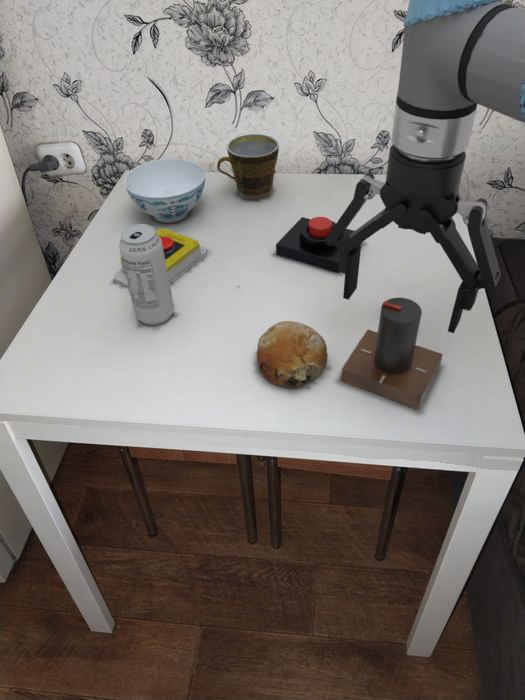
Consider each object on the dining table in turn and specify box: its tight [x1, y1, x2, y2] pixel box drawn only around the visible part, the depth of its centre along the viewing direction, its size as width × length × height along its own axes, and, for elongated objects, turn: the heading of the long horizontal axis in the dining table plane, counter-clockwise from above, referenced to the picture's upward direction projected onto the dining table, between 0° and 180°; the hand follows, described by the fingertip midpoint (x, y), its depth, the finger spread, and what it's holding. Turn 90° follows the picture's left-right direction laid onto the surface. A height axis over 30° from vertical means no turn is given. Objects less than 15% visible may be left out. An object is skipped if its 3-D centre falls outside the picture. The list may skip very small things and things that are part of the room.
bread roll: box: [256, 320, 328, 388], centre depth 82 cm, size 10×10×8 cm
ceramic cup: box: [216, 133, 280, 201], centre depth 115 cm, size 13×10×10 cm
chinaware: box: [123, 158, 206, 223], centre depth 112 cm, size 15×15×8 cm
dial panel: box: [340, 329, 443, 411], centre depth 81 cm, size 11×9×3 cm
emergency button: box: [113, 228, 208, 289], centre depth 100 cm, size 9×4×15 cm
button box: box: [275, 216, 363, 274], centre depth 103 cm, size 12×10×4 cm
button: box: [308, 216, 333, 237], centre depth 101 cm, size 4×4×2 cm
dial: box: [374, 297, 423, 374], centre depth 77 cm, size 5×5×9 cm
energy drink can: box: [118, 223, 175, 326], centre depth 87 cm, size 6×6×15 cm
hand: (400, 309), depth 74 cm, fingers open, 13 cm apart
